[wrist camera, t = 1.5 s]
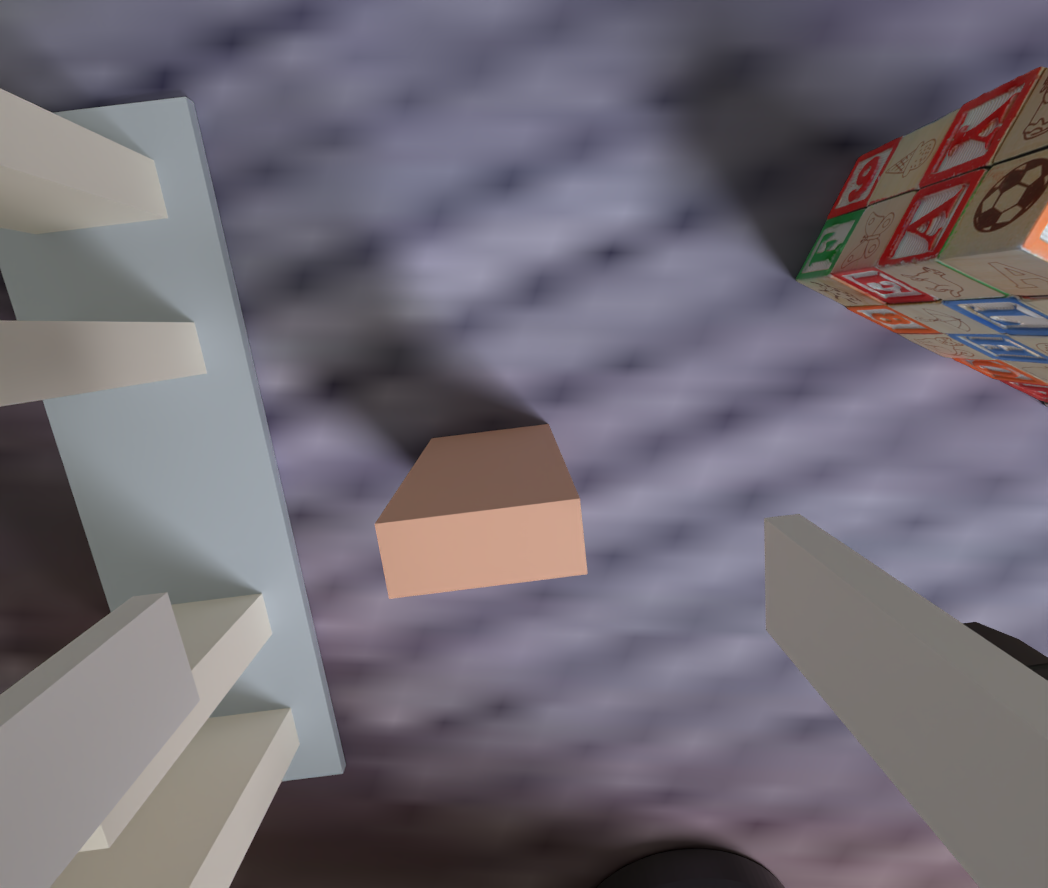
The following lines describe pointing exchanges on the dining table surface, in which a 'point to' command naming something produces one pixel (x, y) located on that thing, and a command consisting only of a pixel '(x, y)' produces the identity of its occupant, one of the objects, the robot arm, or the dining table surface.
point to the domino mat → (178, 423)
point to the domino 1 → (92, 356)
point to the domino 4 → (482, 515)
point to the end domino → (68, 174)
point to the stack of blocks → (952, 236)
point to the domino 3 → (198, 810)
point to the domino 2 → (216, 664)
